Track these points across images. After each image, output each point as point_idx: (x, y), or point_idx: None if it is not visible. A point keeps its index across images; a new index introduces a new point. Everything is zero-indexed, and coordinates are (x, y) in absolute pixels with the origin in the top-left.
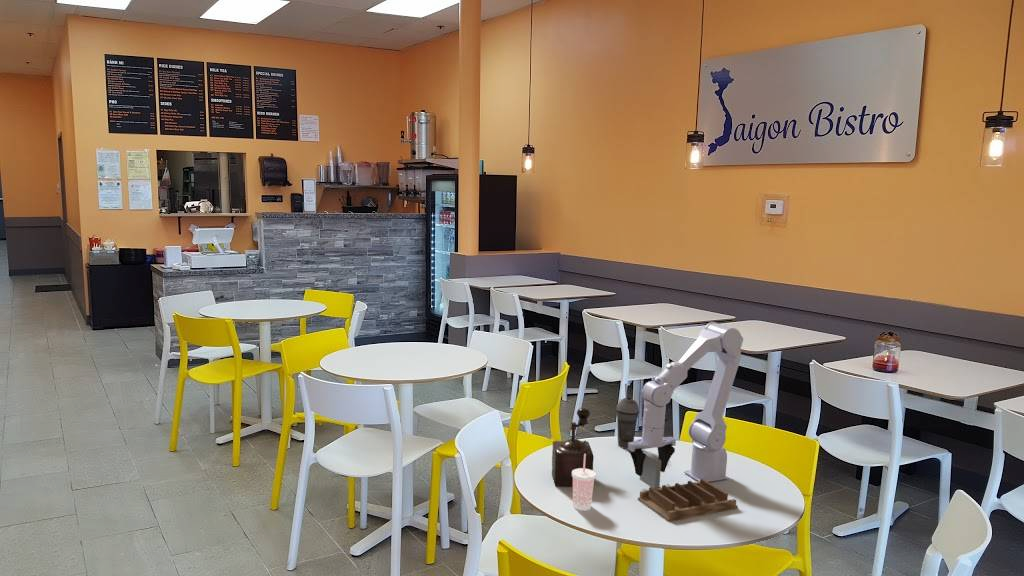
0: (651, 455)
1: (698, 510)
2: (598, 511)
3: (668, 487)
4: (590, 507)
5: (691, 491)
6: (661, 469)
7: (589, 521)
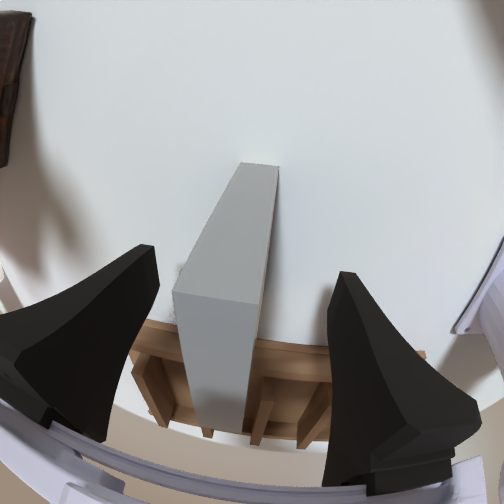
0: (234, 382)
1: None
2: (17, 296)
3: None
4: (2, 278)
5: (320, 390)
6: (331, 310)
7: (7, 312)
